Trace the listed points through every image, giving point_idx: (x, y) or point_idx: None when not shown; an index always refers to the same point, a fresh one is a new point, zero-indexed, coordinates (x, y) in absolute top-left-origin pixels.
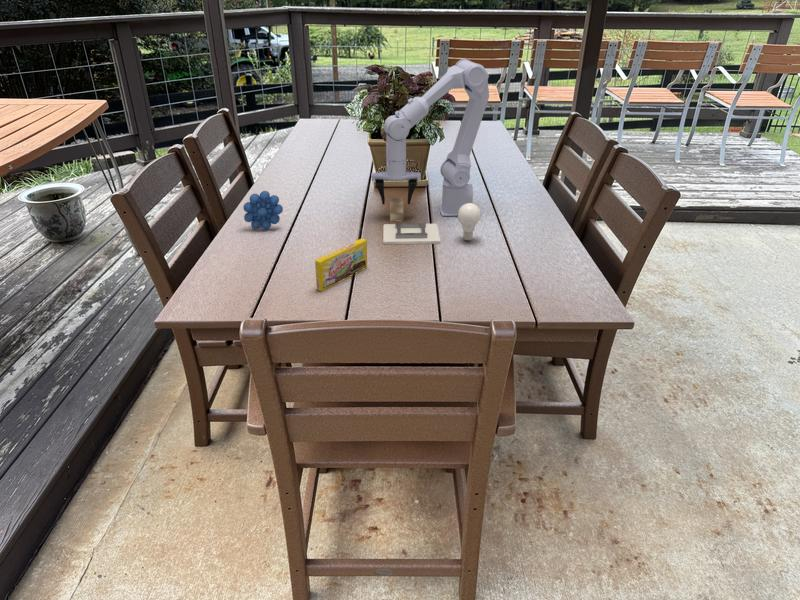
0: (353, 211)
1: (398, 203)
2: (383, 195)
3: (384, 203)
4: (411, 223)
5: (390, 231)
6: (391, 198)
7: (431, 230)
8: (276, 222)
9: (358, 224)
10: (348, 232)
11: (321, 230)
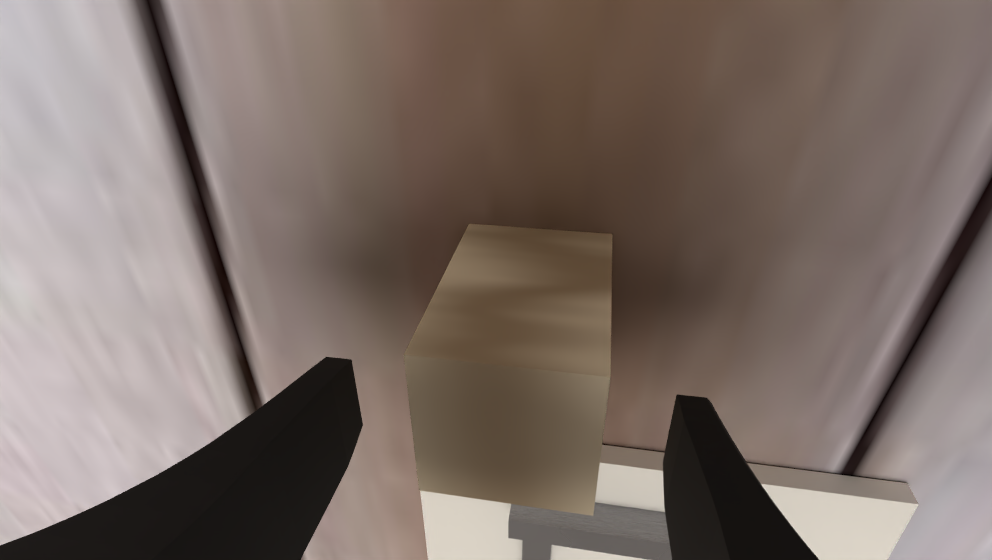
0: (53, 59)
1: (530, 498)
2: (295, 553)
3: (355, 439)
4: (651, 548)
5: (476, 541)
6: (430, 373)
7: None
8: None
9: (215, 355)
10: (191, 454)
11: (9, 403)
